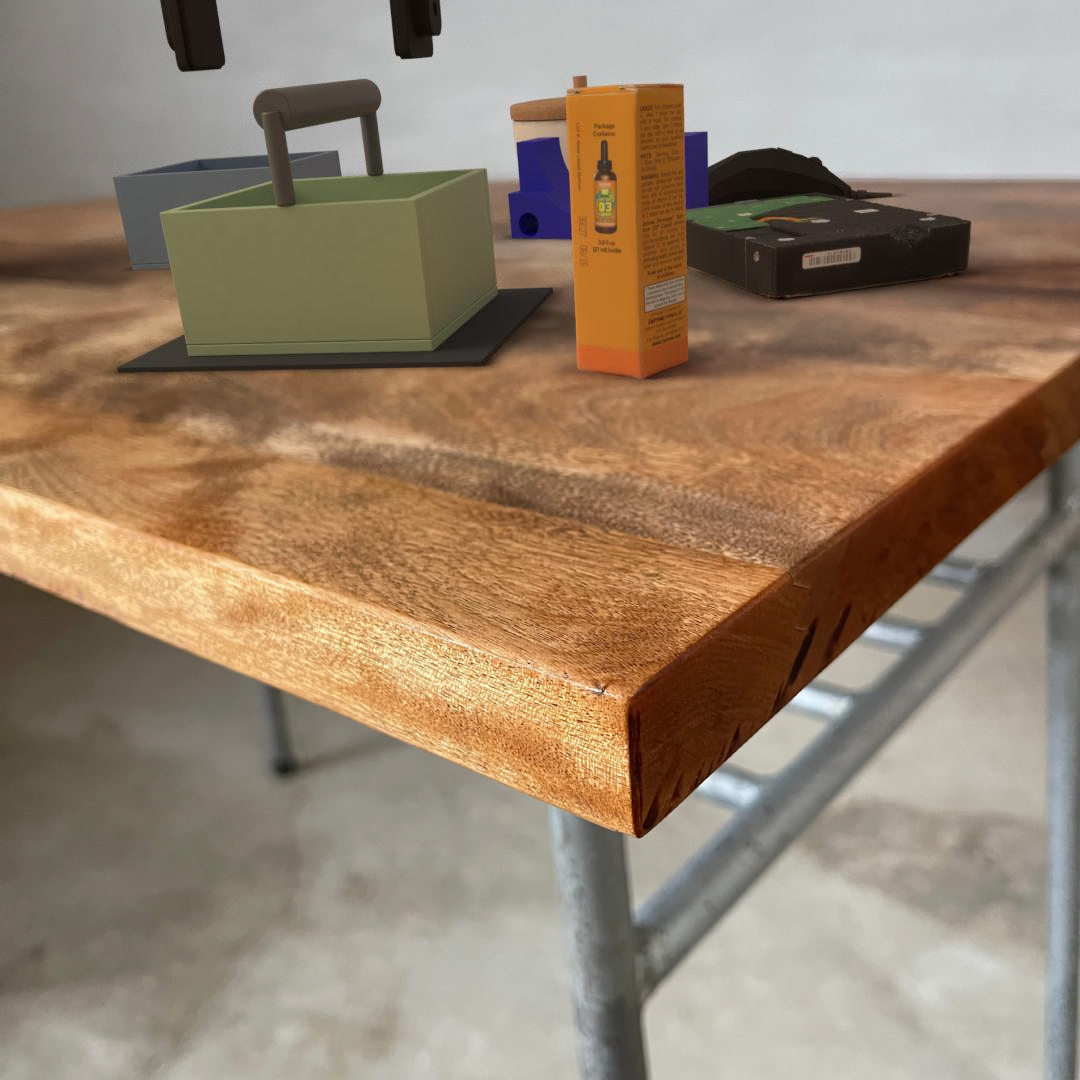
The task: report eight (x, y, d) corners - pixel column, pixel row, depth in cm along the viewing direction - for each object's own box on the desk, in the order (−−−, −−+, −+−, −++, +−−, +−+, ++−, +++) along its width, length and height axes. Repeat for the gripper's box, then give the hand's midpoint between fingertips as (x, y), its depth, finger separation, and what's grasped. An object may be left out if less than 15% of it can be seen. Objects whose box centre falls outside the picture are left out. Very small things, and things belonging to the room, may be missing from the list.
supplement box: (697, 362, 42) (692, 78, 38) (643, 384, 40) (631, 85, 36) (628, 352, 45) (616, 82, 41) (572, 373, 42) (554, 89, 38)
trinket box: (498, 219, 83) (486, 84, 80) (543, 199, 93) (535, 77, 89) (637, 215, 80) (631, 74, 76) (670, 194, 89) (666, 67, 85)
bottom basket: (132, 272, 73) (112, 176, 71) (211, 243, 83) (195, 159, 80) (288, 266, 71) (272, 167, 68) (350, 237, 80) (338, 150, 78)
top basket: (186, 357, 48) (133, 99, 44) (293, 300, 58) (258, 86, 54) (431, 352, 45) (400, 79, 41) (498, 294, 55) (479, 69, 51)
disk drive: (973, 280, 53) (815, 237, 66) (978, 219, 51) (816, 187, 65) (773, 309, 50) (651, 258, 63) (774, 246, 49) (649, 207, 62)
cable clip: (511, 240, 73) (504, 144, 71) (545, 229, 77) (539, 137, 74) (680, 243, 68) (677, 138, 65) (708, 231, 71) (707, 131, 69)
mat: (118, 376, 47) (116, 367, 47) (260, 304, 60) (259, 296, 59) (482, 370, 44) (481, 360, 43) (553, 295, 56) (552, 287, 56)
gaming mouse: (903, 204, 75) (907, 141, 74) (683, 220, 76) (682, 158, 74) (880, 193, 81) (882, 135, 79) (675, 208, 82) (674, 150, 80)
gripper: (-37, -453, 39) (74, 79, 46) (440, -536, 35) (481, 55, 42) (86, -384, 45) (166, 71, 52) (497, -447, 42) (525, 51, 49)
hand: (307, 64), depth 47 cm, fingers open, 9 cm apart
